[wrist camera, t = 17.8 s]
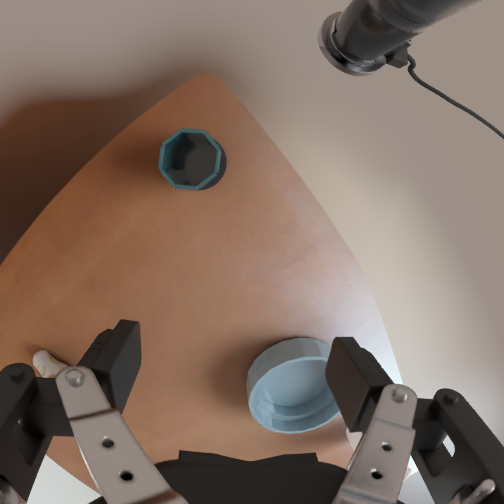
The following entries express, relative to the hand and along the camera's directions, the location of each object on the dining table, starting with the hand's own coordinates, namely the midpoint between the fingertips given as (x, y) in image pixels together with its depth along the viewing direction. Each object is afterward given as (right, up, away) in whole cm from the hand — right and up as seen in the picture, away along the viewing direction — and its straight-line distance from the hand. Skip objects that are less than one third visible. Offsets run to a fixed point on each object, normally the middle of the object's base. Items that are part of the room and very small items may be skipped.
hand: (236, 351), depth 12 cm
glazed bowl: (+8, -17, +36) cm, 41 cm away
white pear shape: (-34, -17, +33) cm, 50 cm away
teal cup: (-6, +16, +26) cm, 31 cm away
